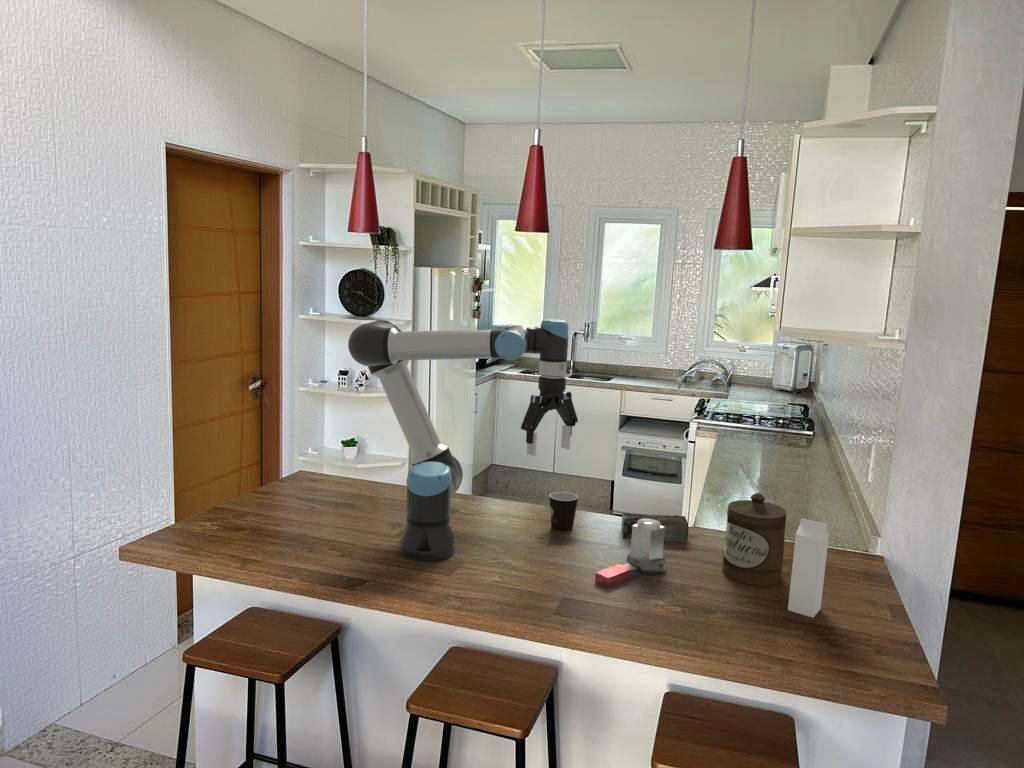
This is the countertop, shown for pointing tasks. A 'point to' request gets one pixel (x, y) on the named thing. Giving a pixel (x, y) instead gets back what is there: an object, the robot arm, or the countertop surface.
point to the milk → (808, 568)
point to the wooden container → (754, 541)
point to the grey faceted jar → (647, 541)
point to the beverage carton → (673, 524)
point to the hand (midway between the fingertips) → (548, 451)
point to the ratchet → (628, 571)
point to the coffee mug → (562, 510)
